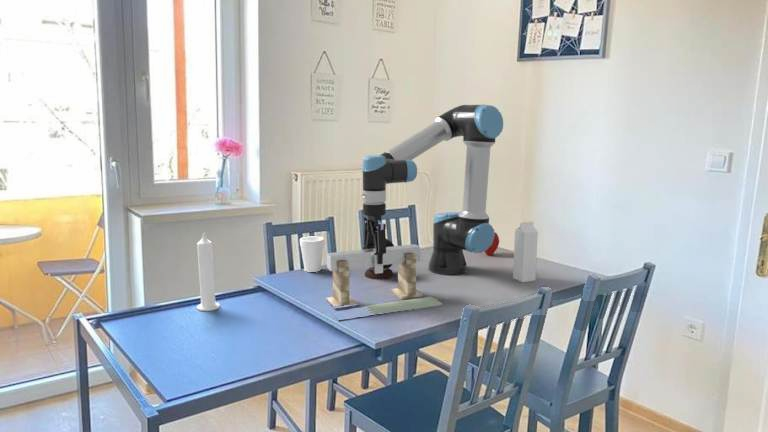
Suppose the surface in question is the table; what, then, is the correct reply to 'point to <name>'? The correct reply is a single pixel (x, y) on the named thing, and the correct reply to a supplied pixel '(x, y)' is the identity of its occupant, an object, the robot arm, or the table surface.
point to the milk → (525, 252)
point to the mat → (404, 305)
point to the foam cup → (312, 252)
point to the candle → (206, 275)
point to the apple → (493, 245)
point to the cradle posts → (403, 291)
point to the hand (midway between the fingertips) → (374, 270)
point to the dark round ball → (386, 271)
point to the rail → (371, 257)
